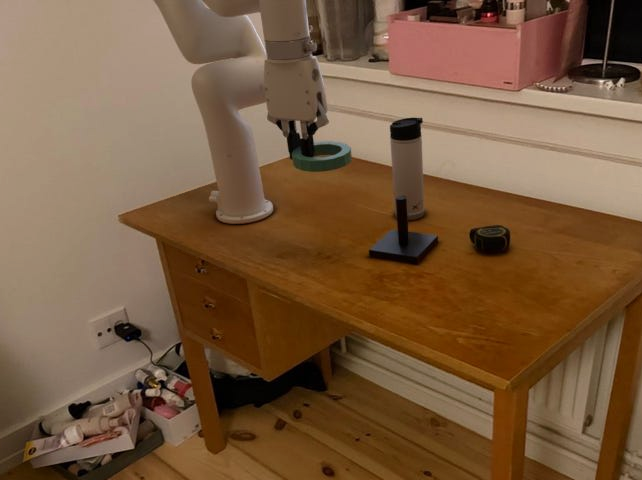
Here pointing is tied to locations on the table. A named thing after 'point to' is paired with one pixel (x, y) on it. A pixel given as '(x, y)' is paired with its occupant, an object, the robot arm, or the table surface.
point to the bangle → (321, 164)
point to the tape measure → (490, 238)
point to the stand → (403, 240)
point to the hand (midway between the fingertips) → (302, 157)
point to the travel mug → (408, 164)
